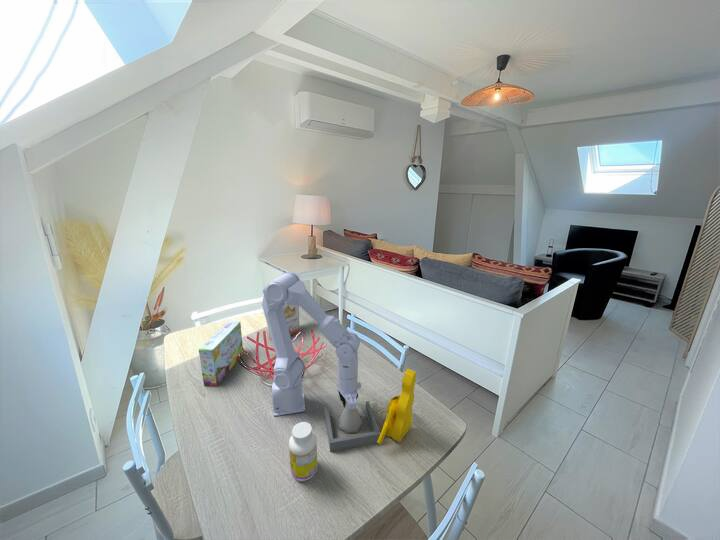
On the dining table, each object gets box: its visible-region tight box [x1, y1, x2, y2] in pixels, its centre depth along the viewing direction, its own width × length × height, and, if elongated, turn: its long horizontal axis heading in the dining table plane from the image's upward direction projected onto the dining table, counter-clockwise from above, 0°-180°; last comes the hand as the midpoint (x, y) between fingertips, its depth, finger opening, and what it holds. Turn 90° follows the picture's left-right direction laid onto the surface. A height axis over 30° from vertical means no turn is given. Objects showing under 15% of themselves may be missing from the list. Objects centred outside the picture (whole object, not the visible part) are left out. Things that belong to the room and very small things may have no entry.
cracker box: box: [268, 300, 300, 341], centre depth 131 cm, size 14×6×21 cm, turn 142°
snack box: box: [198, 320, 244, 387], centre depth 108 cm, size 21×6×15 cm, turn 178°
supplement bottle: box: [288, 421, 318, 482], centre depth 69 cm, size 7×7×13 cm
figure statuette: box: [377, 368, 417, 445], centre depth 79 cm, size 18×8×22 cm, turn 147°
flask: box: [338, 399, 363, 434], centre depth 83 cm, size 7×7×10 cm
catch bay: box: [324, 400, 381, 452], centre depth 83 cm, size 14×12×3 cm
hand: (347, 410), depth 87 cm, fingers closed
